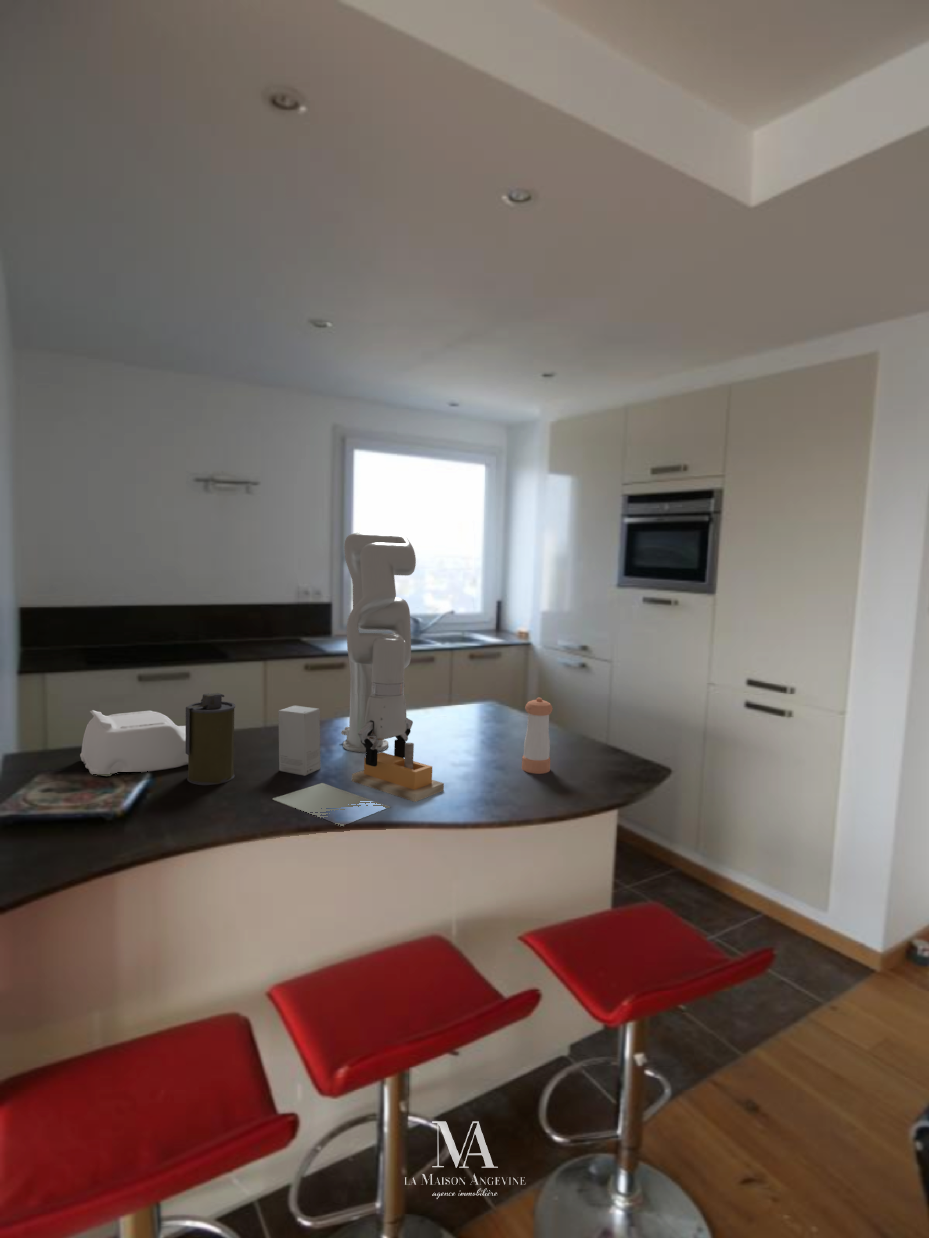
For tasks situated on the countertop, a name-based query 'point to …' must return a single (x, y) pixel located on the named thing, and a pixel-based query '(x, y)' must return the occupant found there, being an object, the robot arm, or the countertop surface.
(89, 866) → the countertop surface
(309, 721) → the skincare box
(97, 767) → the white toaster
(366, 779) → the peg base
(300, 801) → the mat
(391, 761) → the link
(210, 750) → the canister
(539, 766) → the pepper shaker
